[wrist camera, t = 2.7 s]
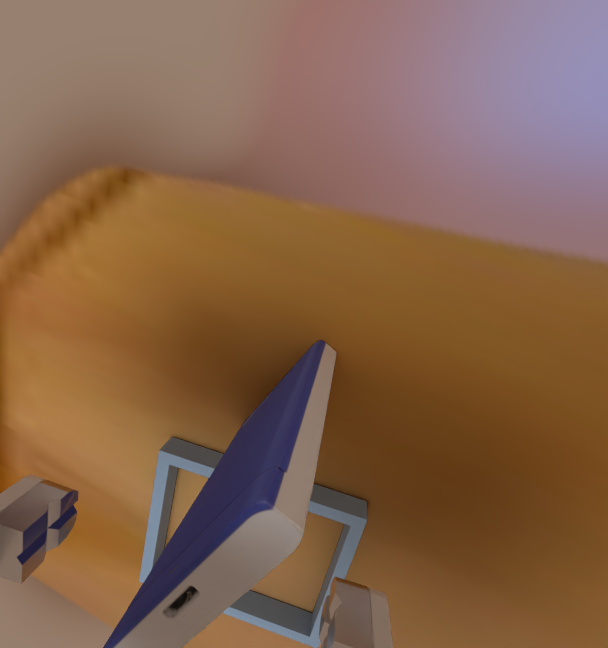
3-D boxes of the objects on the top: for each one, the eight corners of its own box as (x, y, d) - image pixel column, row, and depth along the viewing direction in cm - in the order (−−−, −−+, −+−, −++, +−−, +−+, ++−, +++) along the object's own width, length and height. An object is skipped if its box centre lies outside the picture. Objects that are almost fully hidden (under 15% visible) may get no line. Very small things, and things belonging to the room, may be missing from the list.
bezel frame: (366, 501, 21) (367, 520, 20) (320, 624, 24) (317, 648, 23) (172, 436, 22) (159, 450, 21) (151, 562, 25) (139, 581, 24)
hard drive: (239, 427, 21) (88, 661, 9) (319, 336, 19) (256, 492, 7) (257, 442, 21) (131, 694, 9) (339, 354, 19) (312, 538, 7)
